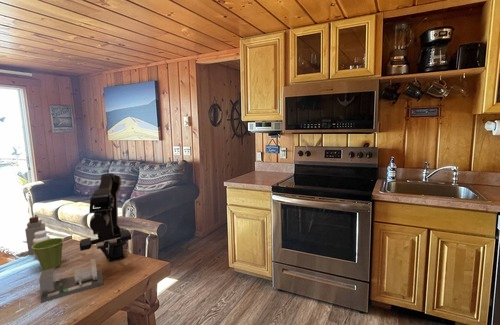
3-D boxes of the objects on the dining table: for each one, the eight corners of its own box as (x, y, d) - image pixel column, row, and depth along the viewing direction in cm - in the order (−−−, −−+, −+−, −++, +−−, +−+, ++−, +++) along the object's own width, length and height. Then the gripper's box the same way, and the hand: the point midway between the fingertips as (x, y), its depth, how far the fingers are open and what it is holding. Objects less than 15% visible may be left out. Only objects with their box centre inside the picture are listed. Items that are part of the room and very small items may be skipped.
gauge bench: (101, 271, 121) (99, 255, 120) (103, 284, 110) (101, 267, 110) (44, 287, 111) (41, 269, 110) (40, 302, 100) (38, 284, 99)
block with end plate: (96, 270, 119) (95, 258, 118) (97, 281, 110) (96, 268, 110) (75, 276, 115) (73, 263, 114) (75, 287, 106) (73, 274, 106)
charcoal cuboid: (63, 288, 106) (62, 282, 105) (62, 291, 104) (62, 285, 104) (60, 289, 105) (59, 283, 105) (59, 292, 103) (58, 286, 103)
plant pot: (61, 258, 135) (58, 235, 134) (71, 265, 128) (67, 241, 126) (31, 268, 126) (28, 244, 125) (39, 276, 119) (35, 251, 117)
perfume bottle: (29, 255, 140) (23, 220, 137) (32, 250, 145) (27, 217, 143) (45, 252, 143) (40, 218, 140) (47, 247, 149) (43, 214, 146)
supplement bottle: (35, 257, 138) (31, 232, 136) (52, 253, 142) (48, 228, 140) (35, 262, 132) (31, 236, 131) (52, 257, 136) (48, 232, 135)
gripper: (126, 213, 126) (129, 246, 128) (77, 222, 117) (82, 258, 119) (130, 220, 117) (133, 255, 119) (77, 230, 107) (82, 268, 109)
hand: (108, 259), depth 117 cm, fingers closed
